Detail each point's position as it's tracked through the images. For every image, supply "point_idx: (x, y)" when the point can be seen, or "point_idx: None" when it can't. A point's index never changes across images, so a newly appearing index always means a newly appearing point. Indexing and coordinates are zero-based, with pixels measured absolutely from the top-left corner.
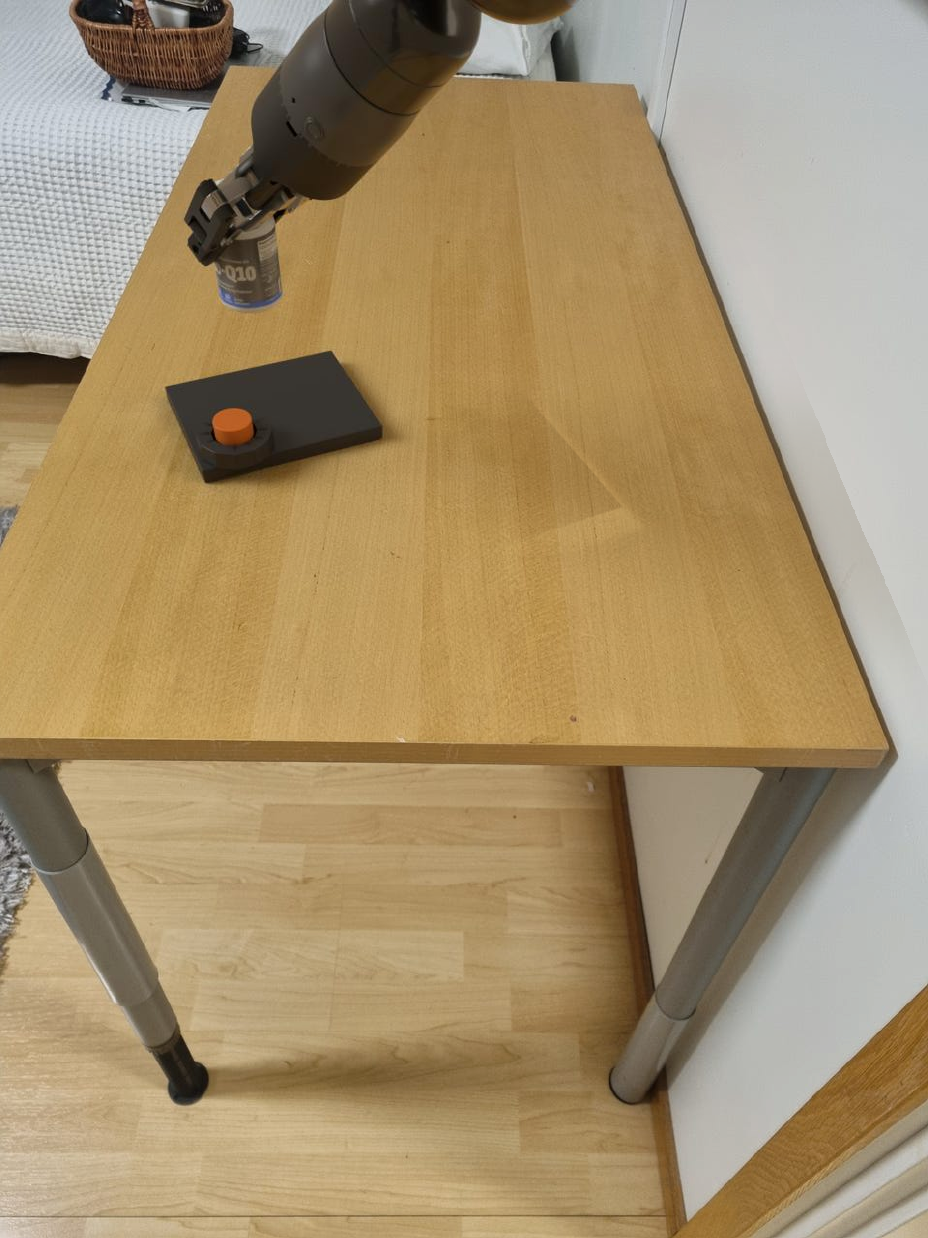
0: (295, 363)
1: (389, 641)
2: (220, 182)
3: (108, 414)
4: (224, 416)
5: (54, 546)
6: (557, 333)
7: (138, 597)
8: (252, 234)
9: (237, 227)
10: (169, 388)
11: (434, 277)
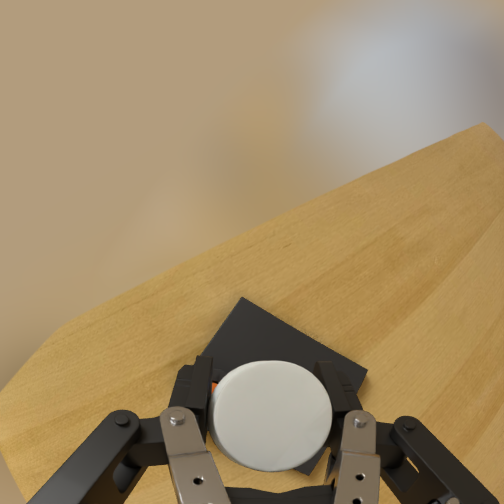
0: (334, 360)
1: None
2: (172, 470)
3: (200, 277)
4: None
5: (74, 345)
6: (478, 458)
7: (65, 422)
8: (238, 463)
9: (174, 490)
10: (241, 301)
11: (480, 344)
